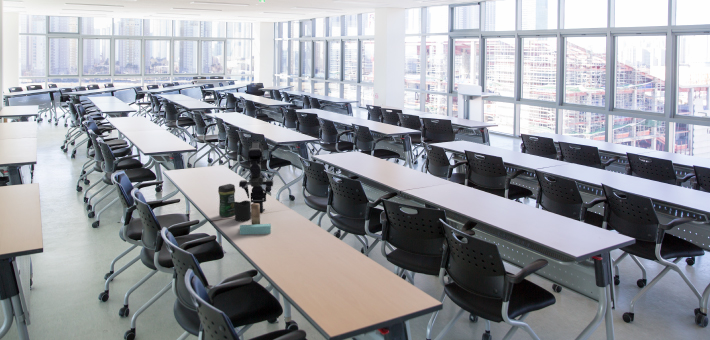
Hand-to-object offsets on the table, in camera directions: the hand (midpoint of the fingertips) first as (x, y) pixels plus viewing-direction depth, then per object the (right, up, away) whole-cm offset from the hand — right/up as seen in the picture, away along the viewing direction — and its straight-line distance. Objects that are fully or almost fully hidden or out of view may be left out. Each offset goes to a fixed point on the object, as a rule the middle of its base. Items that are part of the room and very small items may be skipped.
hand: (256, 198), depth 309 cm
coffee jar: (-19, -11, +12) cm, 25 cm away
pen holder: (-9, -13, +5) cm, 16 cm away
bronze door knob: (+2, -16, -13) cm, 21 cm away
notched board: (+2, -17, -15) cm, 22 cm away
